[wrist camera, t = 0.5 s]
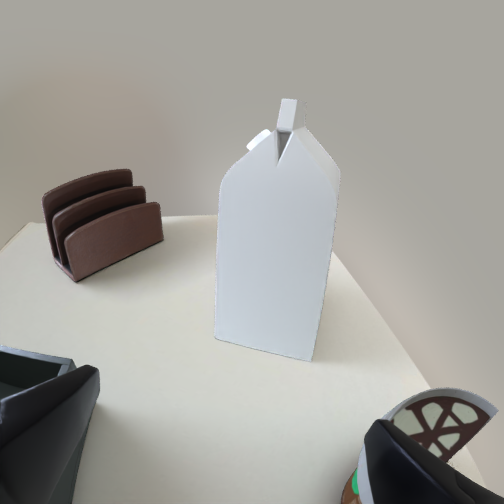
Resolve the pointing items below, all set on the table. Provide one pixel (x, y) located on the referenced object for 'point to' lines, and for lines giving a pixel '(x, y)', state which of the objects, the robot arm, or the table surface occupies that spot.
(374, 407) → the table surface
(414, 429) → the cake slice
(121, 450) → the table surface
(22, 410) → the robot arm
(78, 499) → the table surface
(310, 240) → the milk
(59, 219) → the letter holder
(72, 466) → the storage box
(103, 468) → the table surface
